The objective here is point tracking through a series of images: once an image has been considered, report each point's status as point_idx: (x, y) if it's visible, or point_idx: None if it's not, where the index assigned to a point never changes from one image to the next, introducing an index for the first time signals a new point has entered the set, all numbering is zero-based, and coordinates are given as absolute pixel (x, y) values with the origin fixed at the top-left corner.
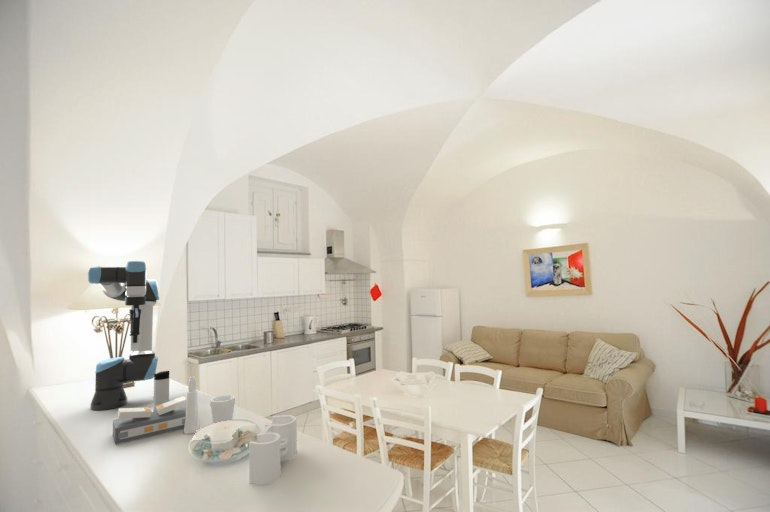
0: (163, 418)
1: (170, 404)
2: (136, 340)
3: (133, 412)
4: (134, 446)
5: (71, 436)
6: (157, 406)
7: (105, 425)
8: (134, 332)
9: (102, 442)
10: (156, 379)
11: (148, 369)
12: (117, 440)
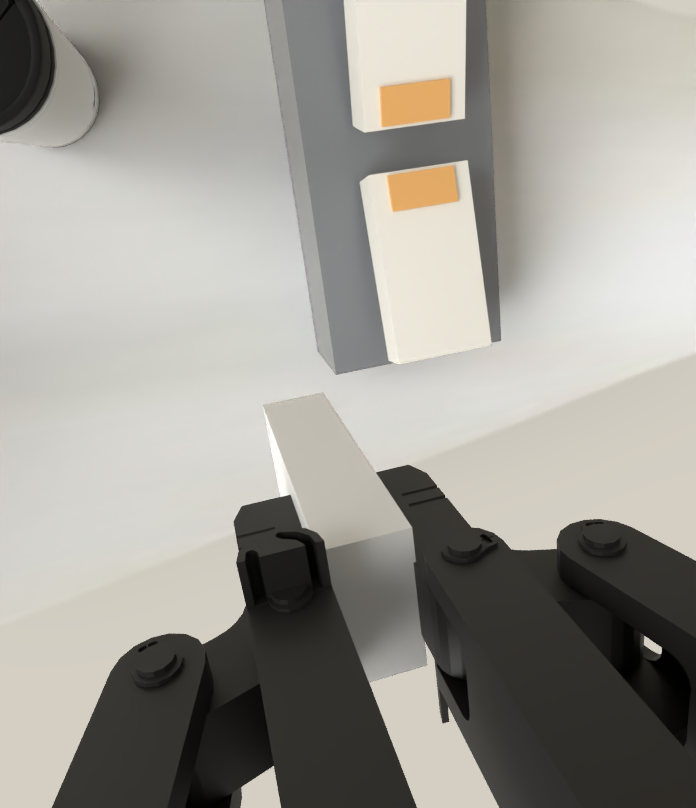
0: (487, 88)
1: (450, 24)
2: (435, 495)
3: (480, 270)
4: (548, 235)
5: (221, 530)
6: (402, 120)
7: (115, 413)
8: (639, 640)
9: (401, 379)
10: (37, 111)
11: None
12: None
